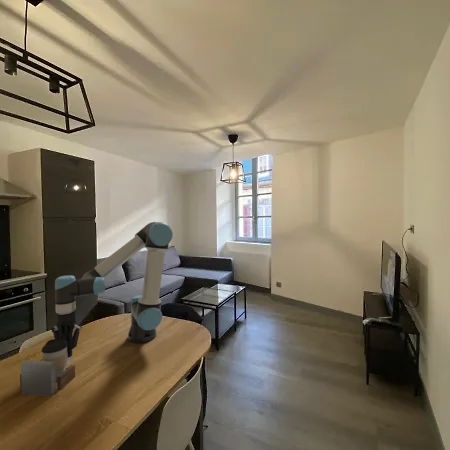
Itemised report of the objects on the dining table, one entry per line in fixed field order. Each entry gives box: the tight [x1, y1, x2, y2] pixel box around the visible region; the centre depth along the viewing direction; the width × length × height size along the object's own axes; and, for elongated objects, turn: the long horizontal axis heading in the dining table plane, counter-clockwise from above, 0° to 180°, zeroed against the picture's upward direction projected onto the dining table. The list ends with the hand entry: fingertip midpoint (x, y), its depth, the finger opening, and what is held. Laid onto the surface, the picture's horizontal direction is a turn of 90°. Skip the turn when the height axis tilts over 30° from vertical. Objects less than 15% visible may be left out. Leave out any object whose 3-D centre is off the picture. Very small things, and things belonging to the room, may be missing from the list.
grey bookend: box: [20, 359, 57, 397], centre depth 95 cm, size 12×2×12 cm, turn 85°
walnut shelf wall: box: [19, 358, 76, 391], centre depth 106 cm, size 16×19×6 cm
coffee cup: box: [41, 338, 68, 382], centre depth 105 cm, size 9×9×15 cm
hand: (67, 363), depth 111 cm, fingers closed
